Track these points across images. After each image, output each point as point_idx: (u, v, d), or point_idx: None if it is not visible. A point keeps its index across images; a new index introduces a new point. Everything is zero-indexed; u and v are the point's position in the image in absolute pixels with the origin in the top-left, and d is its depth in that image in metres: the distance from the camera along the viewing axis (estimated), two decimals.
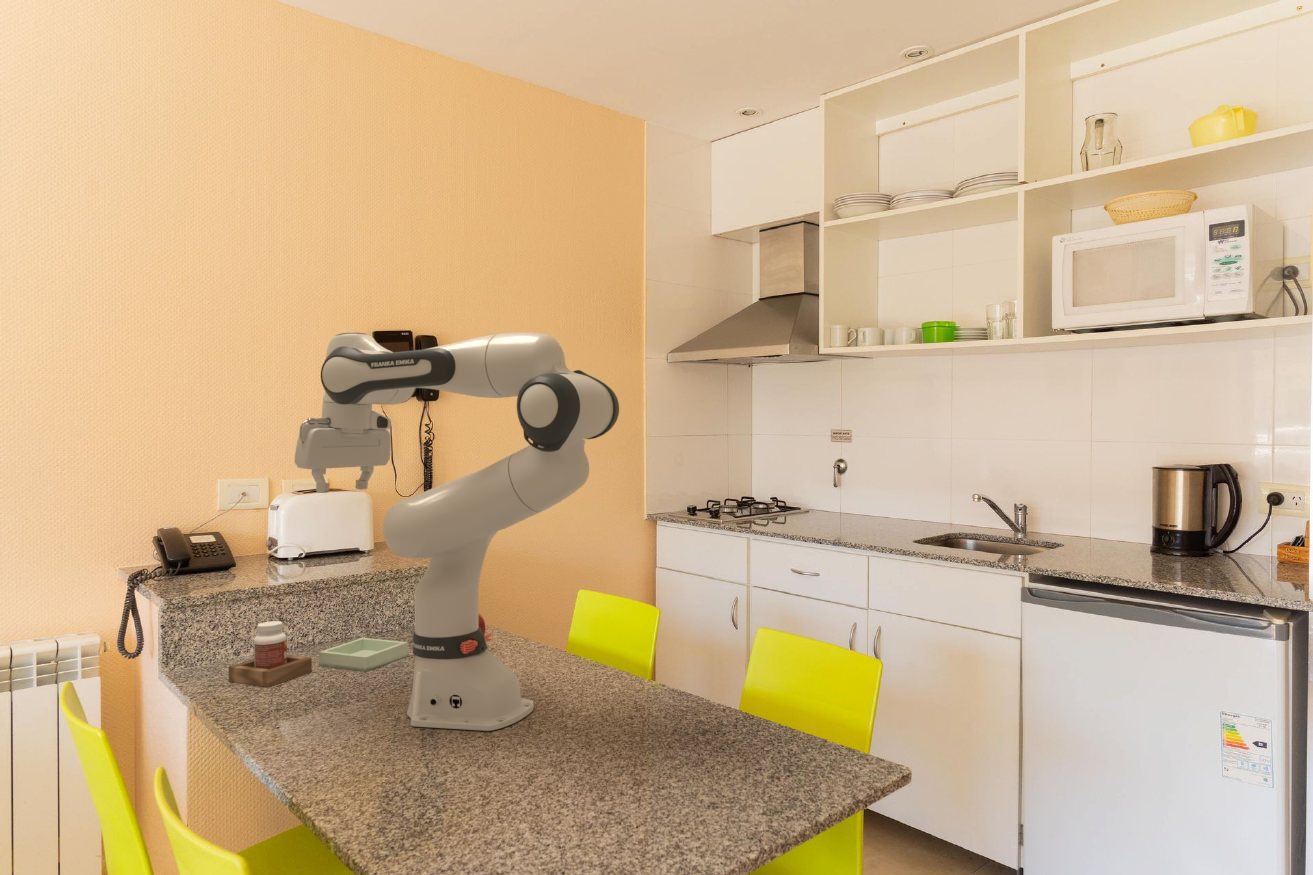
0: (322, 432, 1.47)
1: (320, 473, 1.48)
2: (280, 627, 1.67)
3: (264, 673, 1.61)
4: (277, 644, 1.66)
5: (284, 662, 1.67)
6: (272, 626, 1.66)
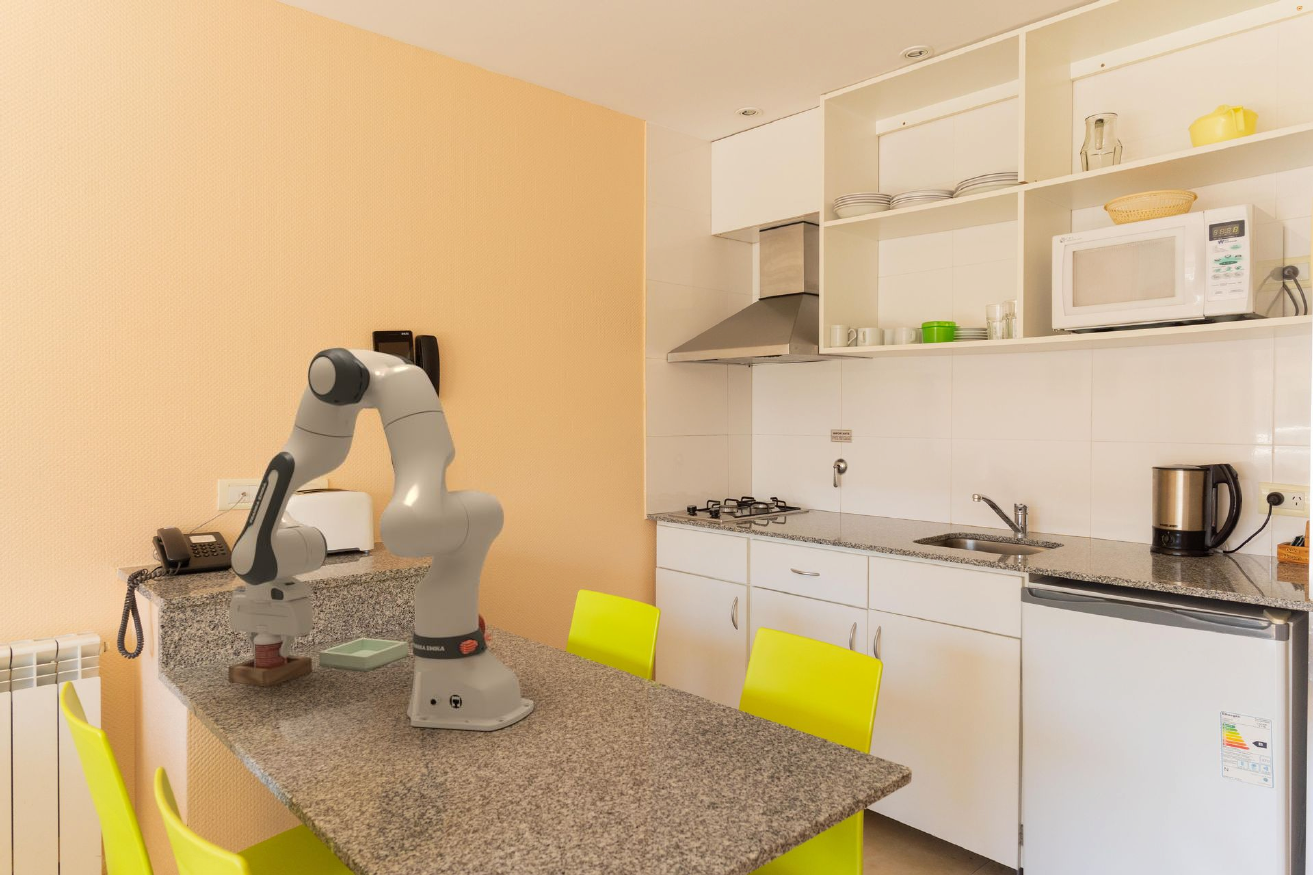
0: (237, 598, 1.69)
1: (247, 635, 1.69)
2: None
3: (264, 673, 1.61)
4: (277, 644, 1.66)
5: (284, 662, 1.67)
6: None
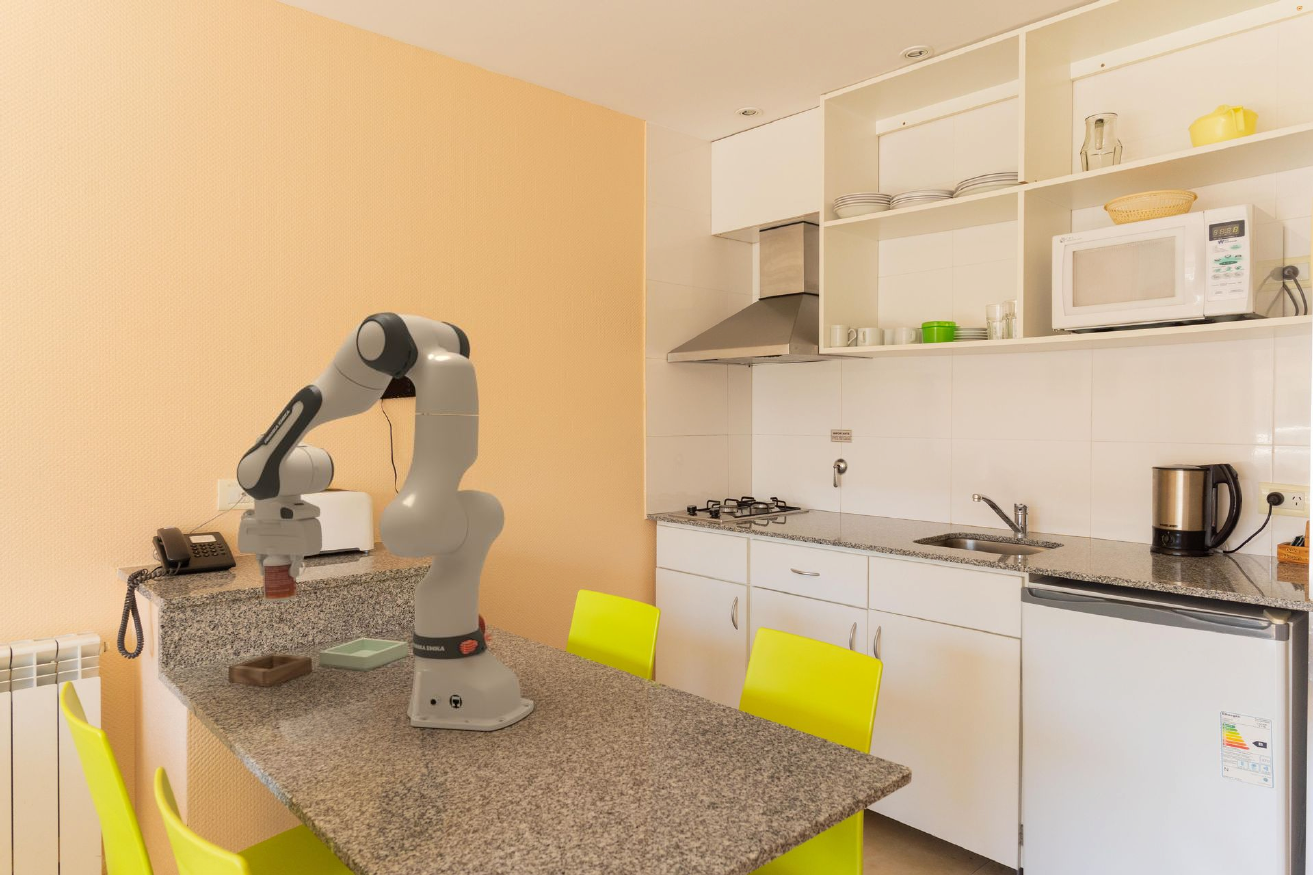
0: (246, 521, 1.69)
1: (256, 558, 1.69)
2: None
3: (264, 673, 1.61)
4: (286, 565, 1.66)
5: (293, 584, 1.68)
6: None
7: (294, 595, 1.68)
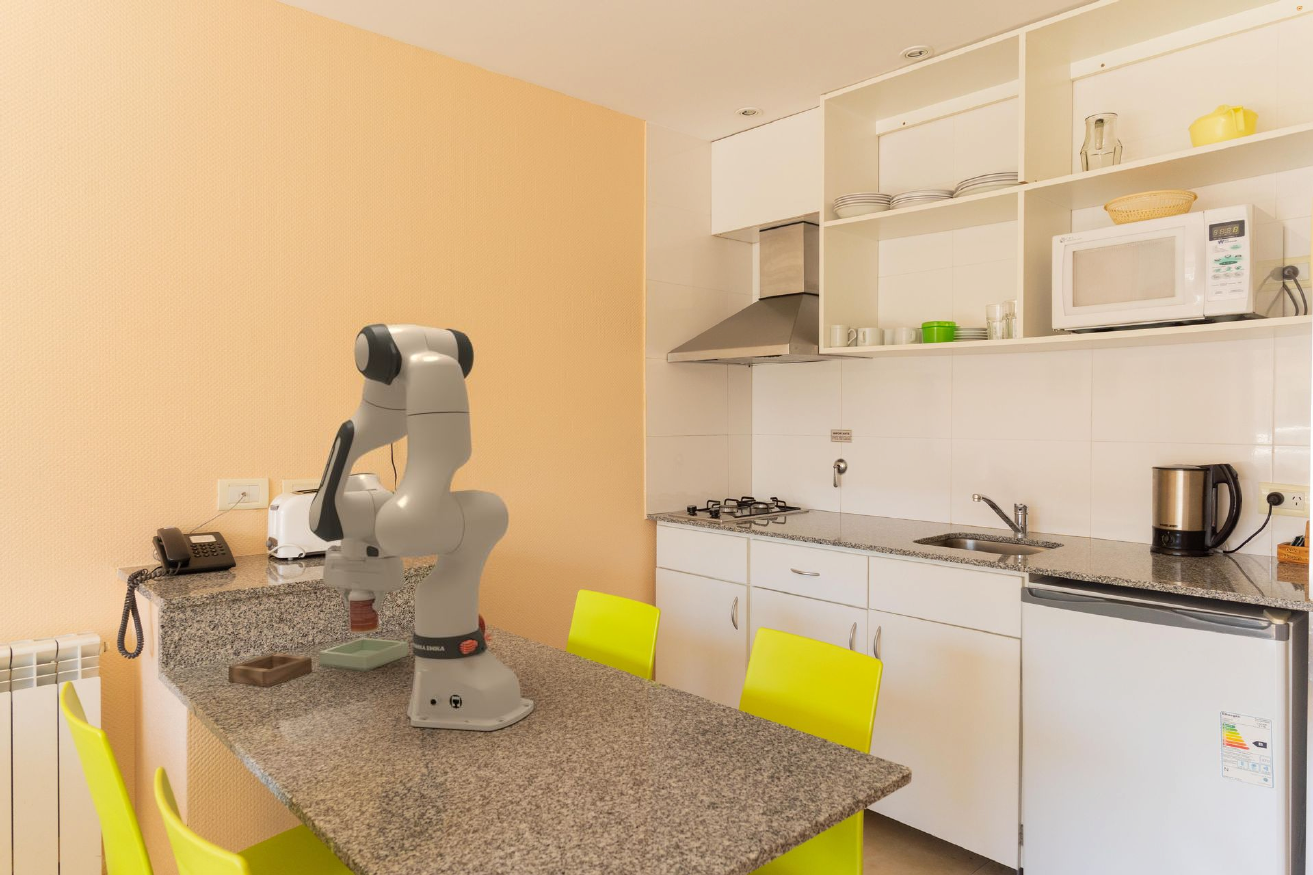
0: (331, 557, 1.79)
1: (340, 591, 1.79)
2: None
3: (264, 673, 1.61)
4: (371, 600, 1.76)
5: (376, 618, 1.78)
6: None
7: (377, 628, 1.78)
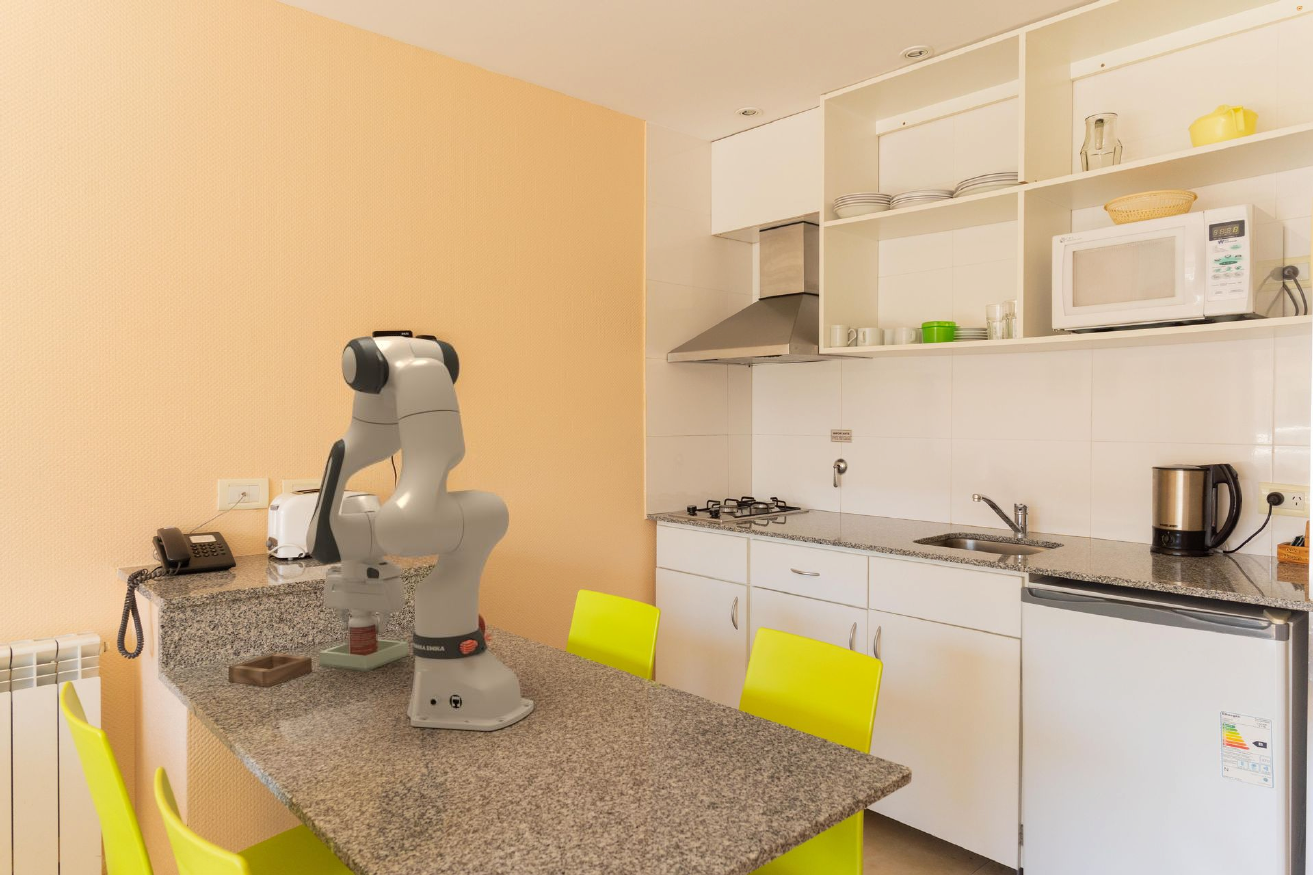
0: (331, 578, 1.79)
1: (338, 612, 1.80)
2: None
3: (264, 673, 1.61)
4: (370, 626, 1.76)
5: (376, 644, 1.78)
6: None
7: None
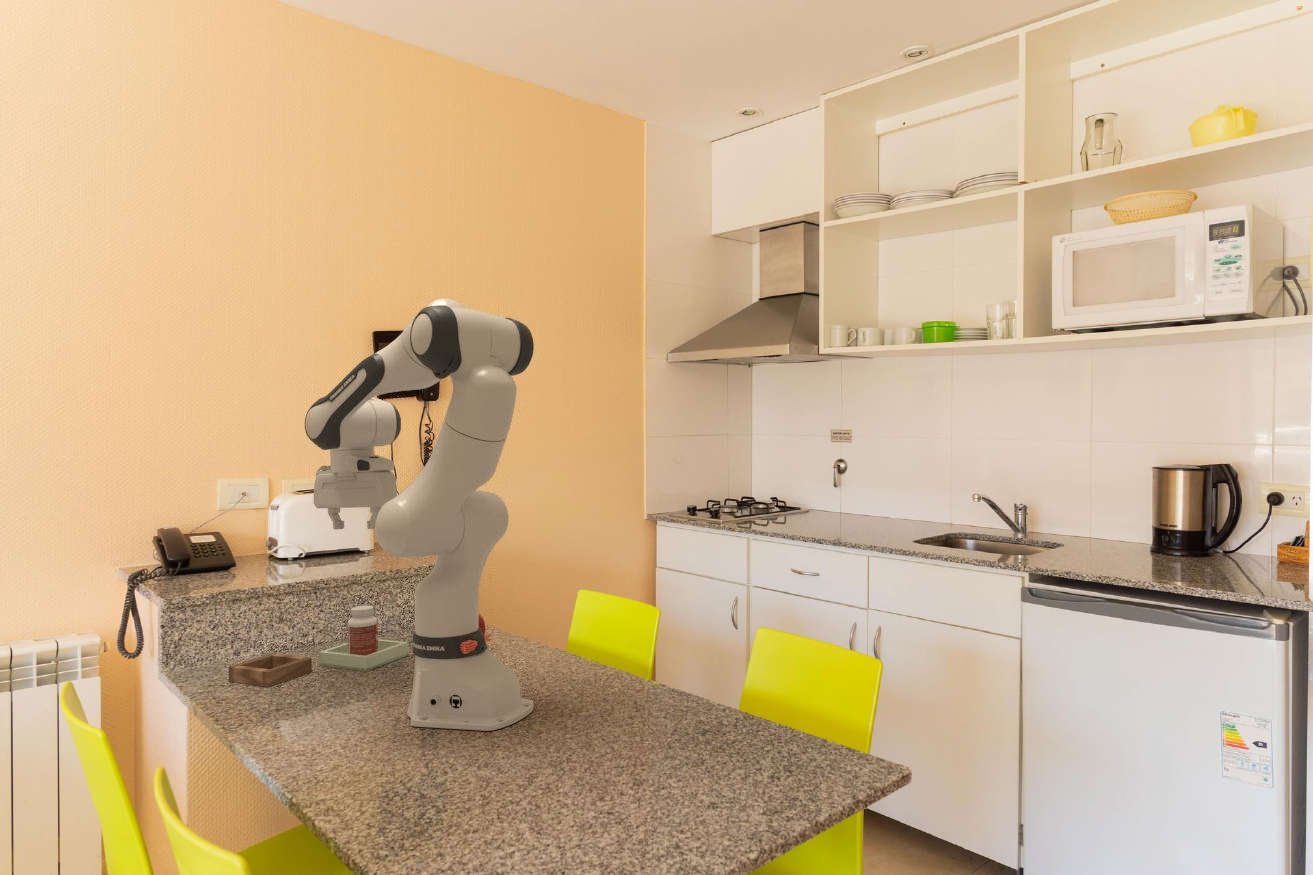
0: (321, 476, 1.73)
1: (328, 512, 1.73)
2: (372, 611, 1.78)
3: (264, 673, 1.61)
4: (370, 626, 1.76)
5: (376, 644, 1.78)
6: (365, 610, 1.77)
7: None
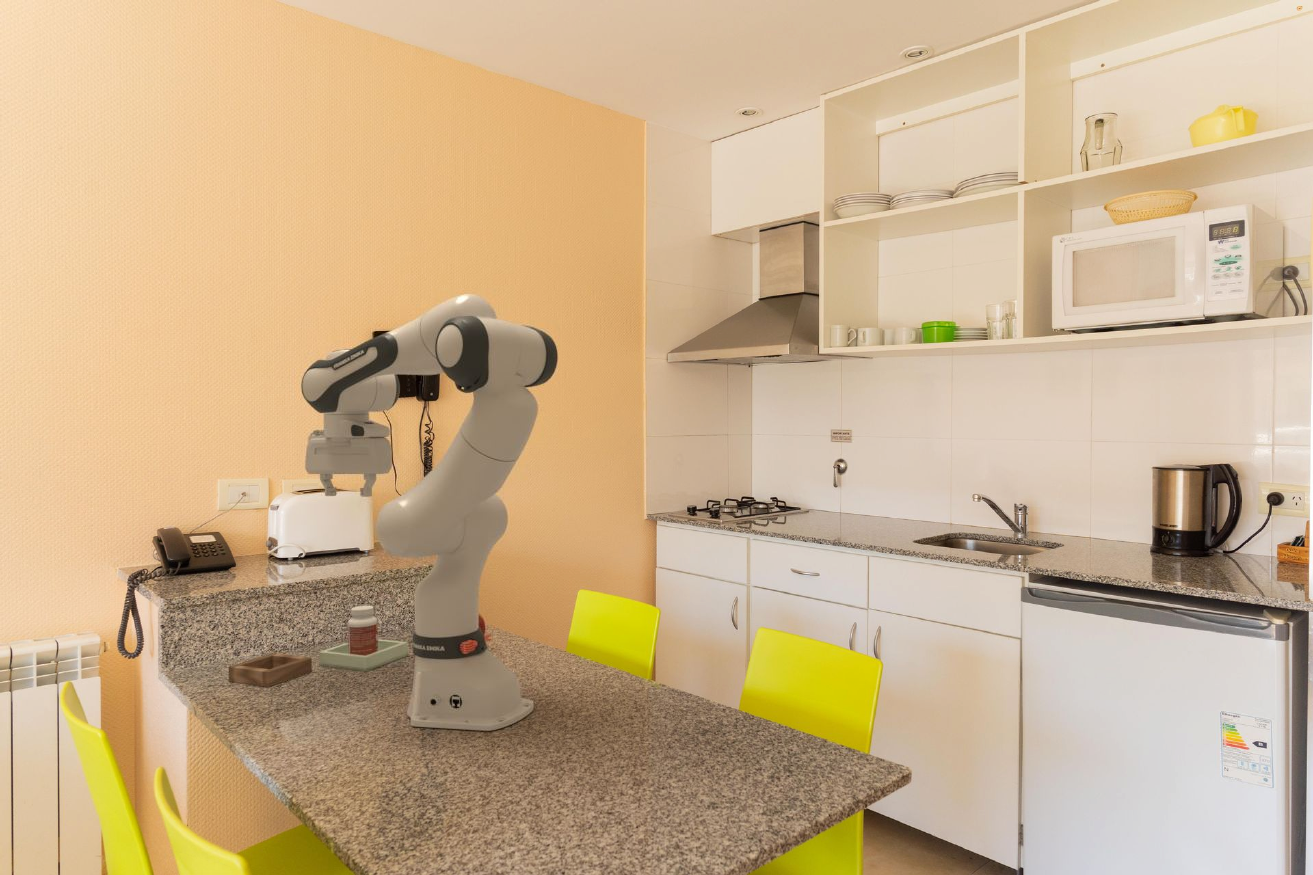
0: (314, 441, 1.68)
1: (320, 478, 1.68)
2: (372, 611, 1.78)
3: (264, 673, 1.61)
4: (370, 626, 1.76)
5: (376, 644, 1.78)
6: (365, 610, 1.77)
7: None
